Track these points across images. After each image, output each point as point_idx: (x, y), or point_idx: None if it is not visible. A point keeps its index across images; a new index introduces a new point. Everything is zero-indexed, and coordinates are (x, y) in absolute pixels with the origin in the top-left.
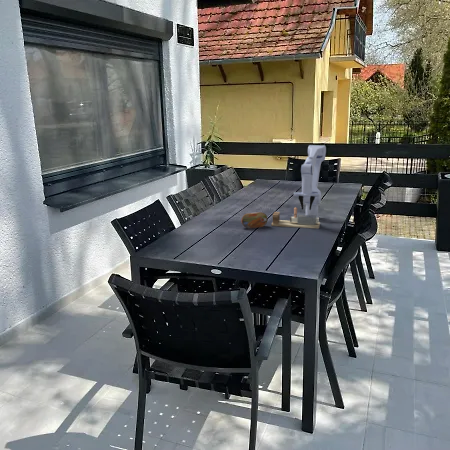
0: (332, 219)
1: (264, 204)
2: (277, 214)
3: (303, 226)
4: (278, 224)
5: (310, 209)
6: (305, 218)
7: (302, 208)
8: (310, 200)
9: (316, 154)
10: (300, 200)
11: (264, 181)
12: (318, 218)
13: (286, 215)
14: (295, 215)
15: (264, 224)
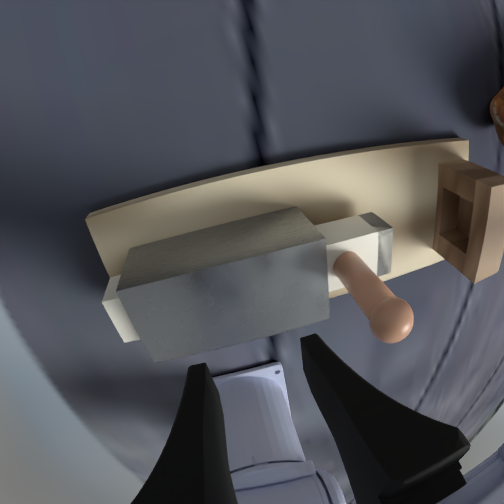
0: (130, 421)
1: (444, 418)
2: (493, 204)
3: (226, 178)
4: (433, 148)
5: (190, 368)
6: (230, 254)
7: (312, 344)
8: (193, 498)
9: None
10: (409, 427)
11: None
12: (115, 322)
13: (386, 377)
14: (355, 265)
15: (495, 114)
